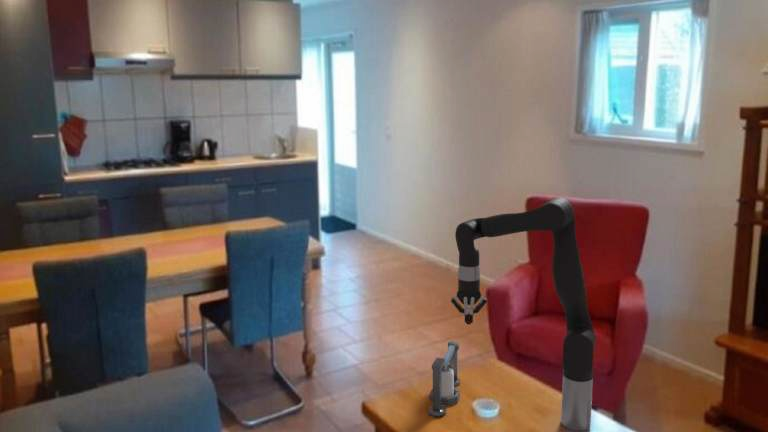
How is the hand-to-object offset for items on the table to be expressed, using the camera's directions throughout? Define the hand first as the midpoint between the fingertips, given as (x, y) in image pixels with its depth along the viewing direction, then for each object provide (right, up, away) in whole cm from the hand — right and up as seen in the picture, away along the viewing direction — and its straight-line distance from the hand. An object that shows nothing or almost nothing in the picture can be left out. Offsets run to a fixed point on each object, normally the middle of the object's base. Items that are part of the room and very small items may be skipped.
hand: (468, 323), depth 221 cm
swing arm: (-7, -13, +3) cm, 15 cm away
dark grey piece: (-12, -29, -7) cm, 32 cm away
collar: (-8, -27, +3) cm, 29 cm away
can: (-8, -27, +3) cm, 29 cm away
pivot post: (-4, -25, +14) cm, 29 cm away
